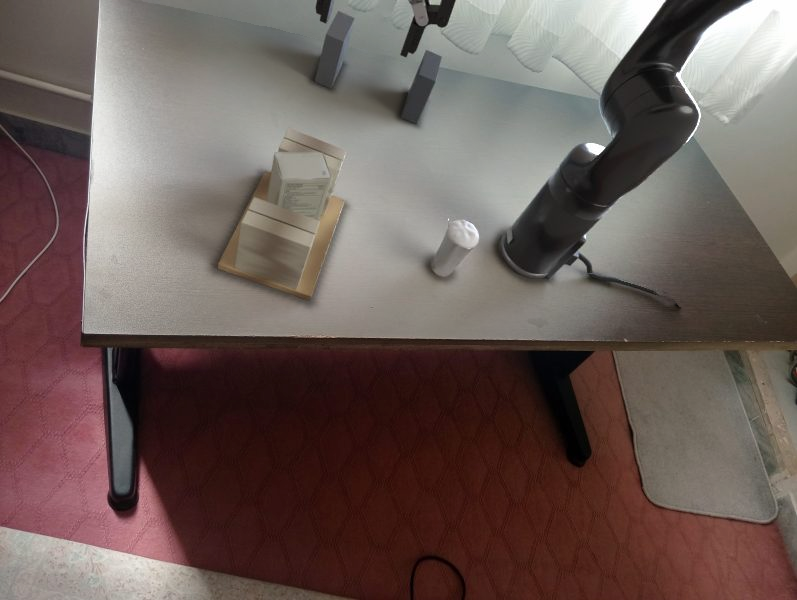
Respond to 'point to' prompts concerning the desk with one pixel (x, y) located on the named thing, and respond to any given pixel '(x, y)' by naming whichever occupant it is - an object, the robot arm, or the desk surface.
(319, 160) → the cosmetic box
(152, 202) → the desk surface
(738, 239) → the desk surface
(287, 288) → the wooden holder
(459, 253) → the milkshake
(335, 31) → the grey bookends
